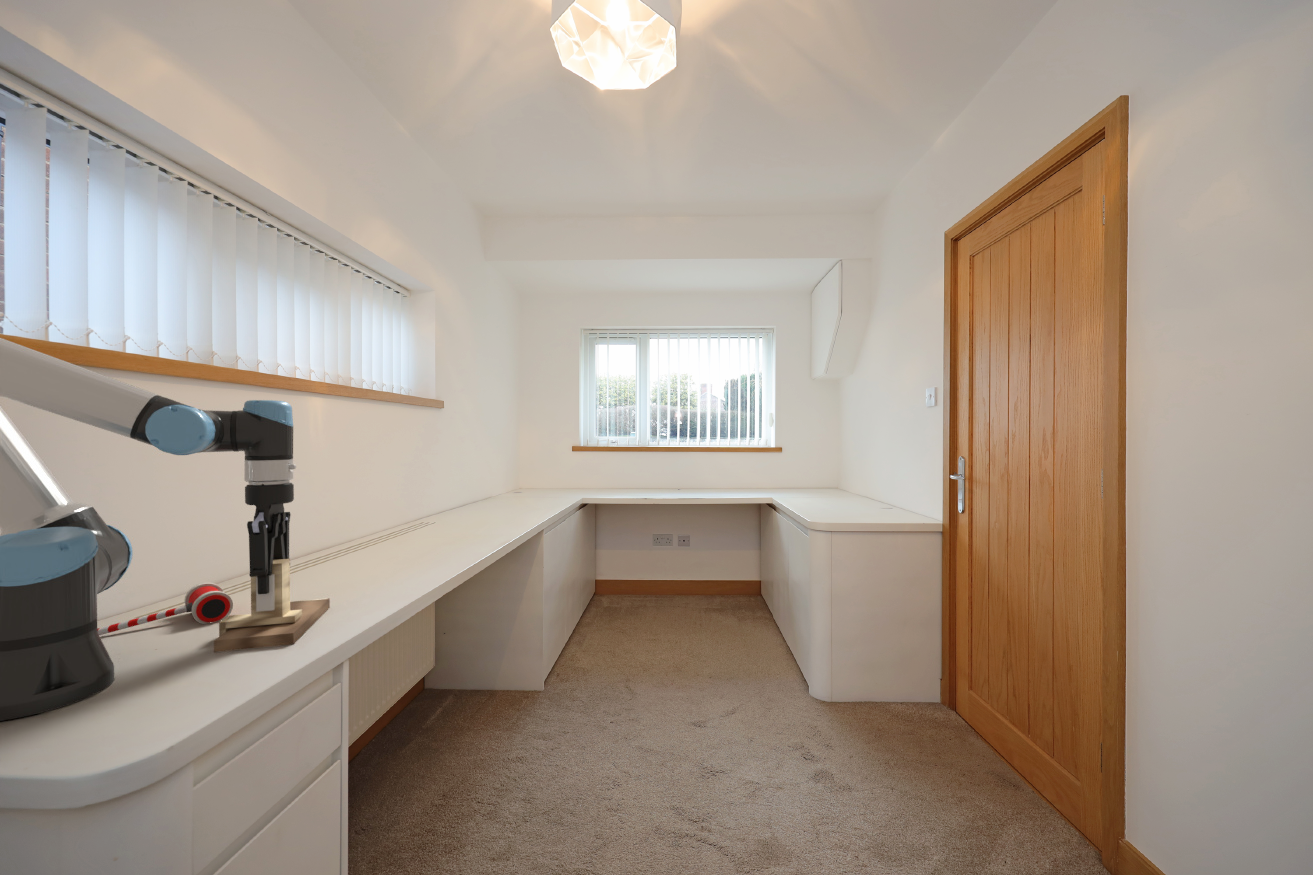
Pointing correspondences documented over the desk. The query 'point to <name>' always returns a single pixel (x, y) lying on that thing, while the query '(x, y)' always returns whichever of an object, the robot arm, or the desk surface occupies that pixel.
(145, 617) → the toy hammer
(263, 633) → the board
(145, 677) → the desk surface
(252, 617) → the bracket
